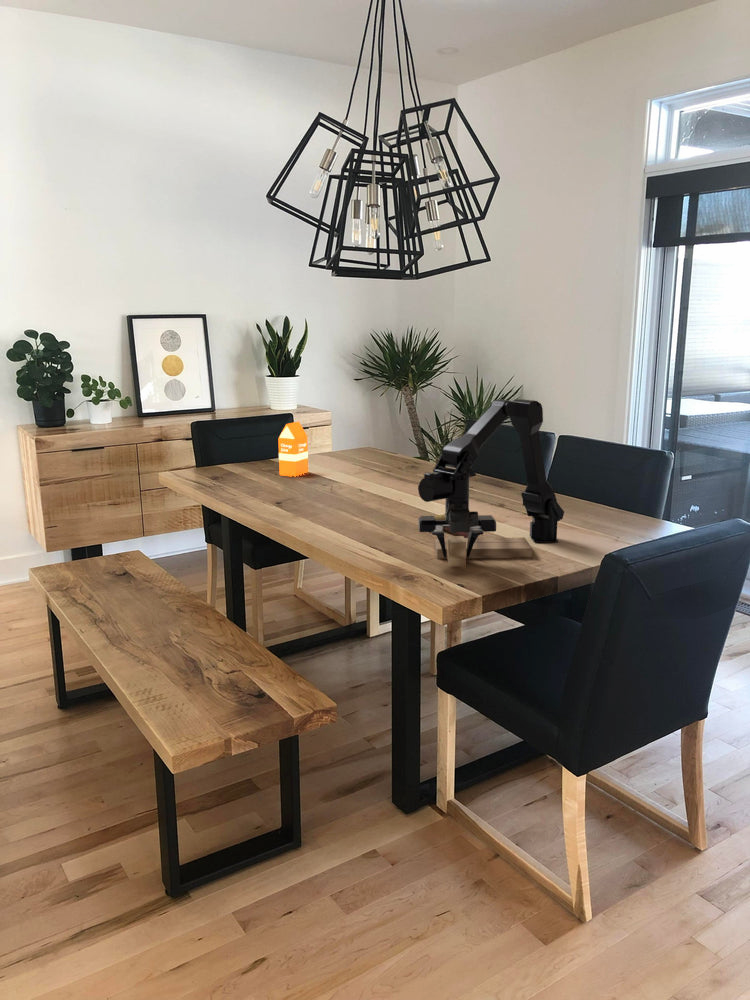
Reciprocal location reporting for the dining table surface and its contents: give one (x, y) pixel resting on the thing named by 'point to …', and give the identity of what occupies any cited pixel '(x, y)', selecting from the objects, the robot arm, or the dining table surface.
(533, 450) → the robot arm
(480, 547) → the plank
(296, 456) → the orange juice
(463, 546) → the block
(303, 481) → the dining table surface
